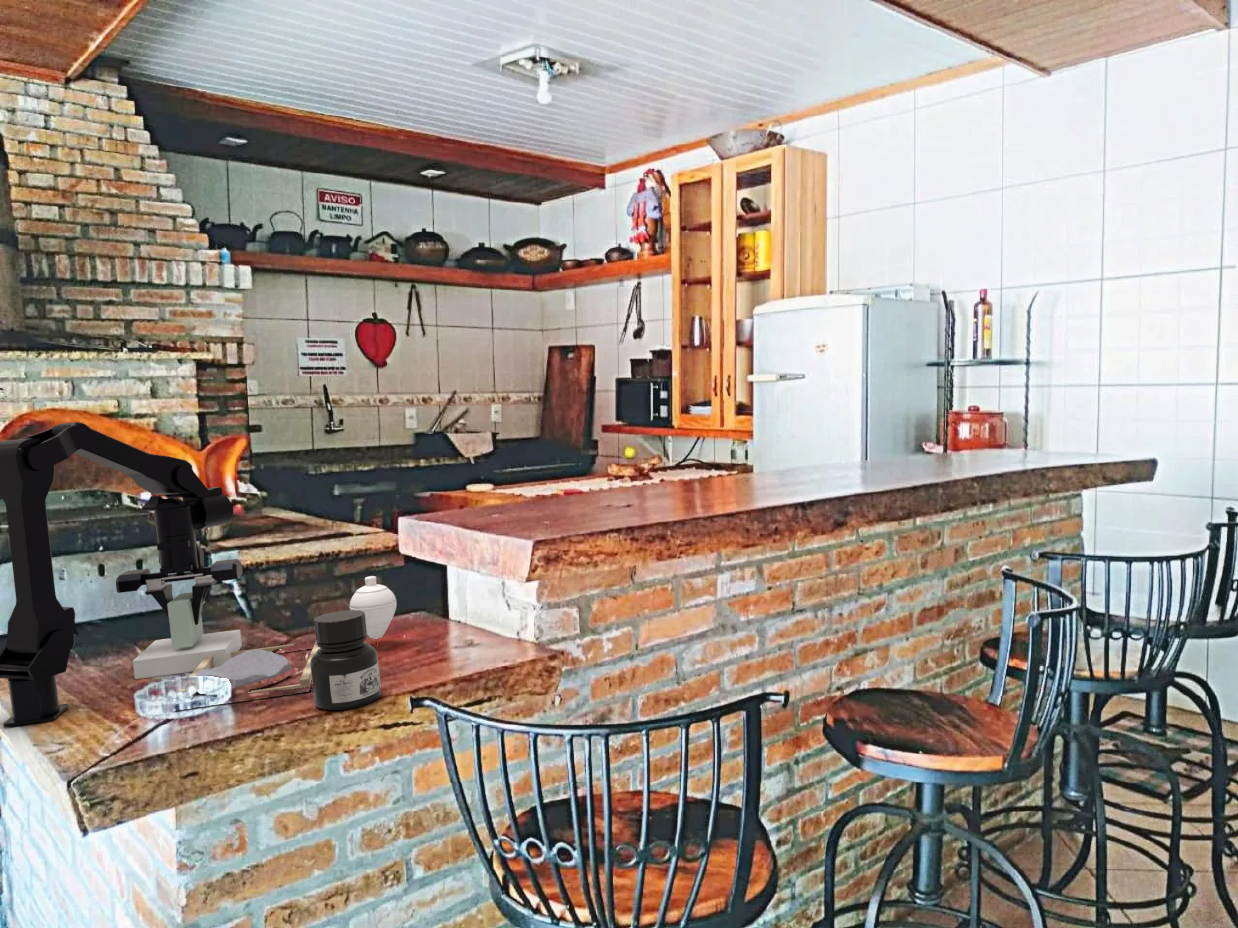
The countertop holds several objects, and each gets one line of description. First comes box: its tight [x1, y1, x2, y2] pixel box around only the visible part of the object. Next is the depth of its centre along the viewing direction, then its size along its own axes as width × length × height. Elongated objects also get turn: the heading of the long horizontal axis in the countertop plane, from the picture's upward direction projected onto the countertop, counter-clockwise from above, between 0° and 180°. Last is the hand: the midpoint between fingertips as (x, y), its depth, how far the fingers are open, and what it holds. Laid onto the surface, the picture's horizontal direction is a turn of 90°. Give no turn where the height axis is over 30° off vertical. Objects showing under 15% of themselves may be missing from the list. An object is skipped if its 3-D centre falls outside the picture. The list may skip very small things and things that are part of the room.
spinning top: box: [349, 575, 397, 640], centre depth 159 cm, size 8×8×12 cm
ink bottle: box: [310, 609, 382, 711], centre depth 130 cm, size 10×9×12 cm
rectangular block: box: [167, 591, 205, 649], centre depth 159 cm, size 9×3×8 cm, turn 13°
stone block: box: [196, 650, 292, 688], centre depth 143 cm, size 12×5×10 cm
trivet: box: [132, 629, 243, 680], centre depth 159 cm, size 14×14×3 cm
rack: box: [177, 642, 320, 693], centre depth 147 cm, size 27×18×2 cm
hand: (186, 625), depth 159 cm, fingers closed on rectangular block, 3 cm apart
